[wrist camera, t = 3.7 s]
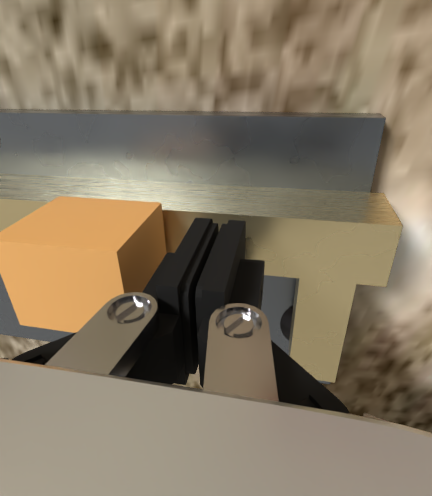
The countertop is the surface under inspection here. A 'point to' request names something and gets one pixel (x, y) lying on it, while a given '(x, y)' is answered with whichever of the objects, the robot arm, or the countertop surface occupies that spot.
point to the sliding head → (79, 258)
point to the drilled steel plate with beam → (225, 200)
